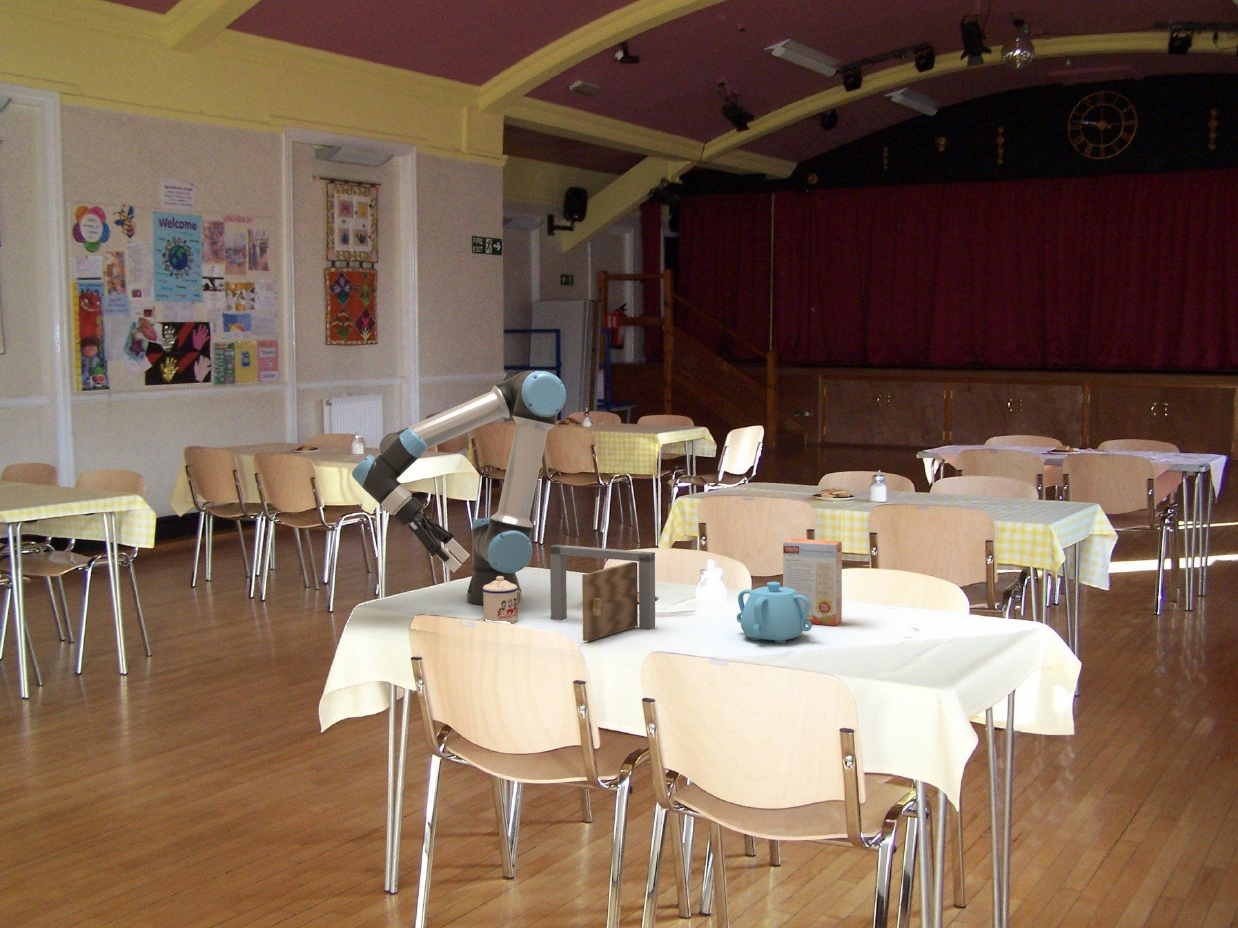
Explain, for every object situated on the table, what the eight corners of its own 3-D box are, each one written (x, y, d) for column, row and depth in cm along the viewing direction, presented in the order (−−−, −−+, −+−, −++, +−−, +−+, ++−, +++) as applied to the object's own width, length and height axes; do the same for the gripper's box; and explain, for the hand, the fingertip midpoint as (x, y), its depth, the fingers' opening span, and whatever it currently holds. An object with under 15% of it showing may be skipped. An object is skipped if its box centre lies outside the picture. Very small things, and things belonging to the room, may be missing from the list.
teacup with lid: (500, 626, 323) (499, 581, 322) (475, 621, 329) (474, 577, 327) (533, 618, 332) (532, 574, 331) (508, 613, 338) (508, 570, 337)
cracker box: (842, 621, 326) (843, 540, 323) (835, 626, 320) (836, 544, 318) (789, 616, 331) (789, 537, 329) (782, 621, 326) (782, 540, 324)
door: (632, 624, 322) (632, 561, 320) (643, 626, 320) (642, 563, 318) (583, 640, 306) (582, 574, 304) (593, 642, 304) (592, 575, 302)
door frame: (556, 616, 334) (555, 544, 332) (655, 627, 321) (654, 552, 319) (551, 618, 331) (549, 546, 329) (650, 629, 318) (649, 554, 316)
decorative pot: (733, 631, 317) (733, 577, 315) (796, 628, 319) (796, 574, 317) (748, 647, 300) (748, 590, 299) (815, 644, 302) (815, 587, 301)
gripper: (402, 509, 341) (460, 565, 342) (381, 523, 316) (443, 583, 317) (422, 489, 340) (479, 545, 341) (402, 502, 315) (464, 562, 316)
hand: (462, 564), depth 329 cm, fingers open, 13 cm apart
